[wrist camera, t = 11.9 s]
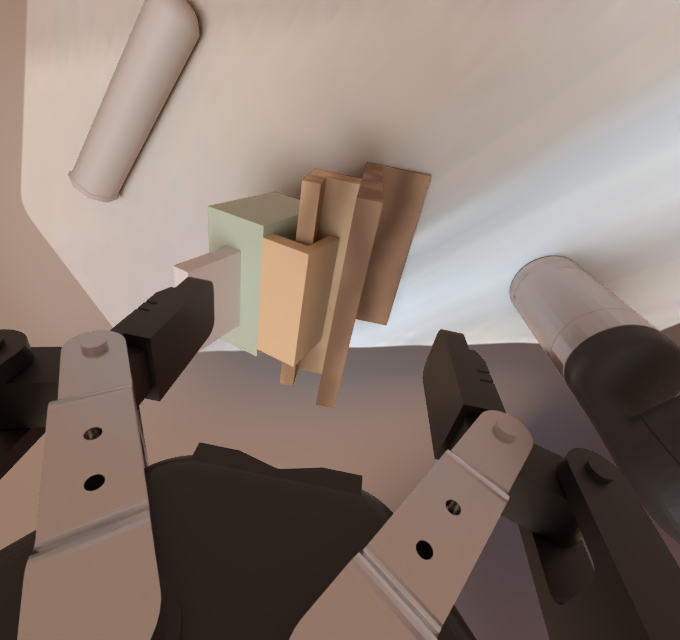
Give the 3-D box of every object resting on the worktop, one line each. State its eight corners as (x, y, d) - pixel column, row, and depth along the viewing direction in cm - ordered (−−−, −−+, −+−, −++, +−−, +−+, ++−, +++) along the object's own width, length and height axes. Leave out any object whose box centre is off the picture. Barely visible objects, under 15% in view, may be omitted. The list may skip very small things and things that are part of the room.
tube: (143, -41, 32) (58, 170, 43) (181, 3, 32) (87, 202, 43) (185, -8, 36) (99, 174, 47) (218, 30, 37) (125, 203, 47)
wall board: (430, 175, 42) (462, 219, 25) (386, 321, 54) (388, 419, 37) (331, 154, 42) (296, 184, 25) (308, 305, 54) (275, 396, 37)
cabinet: (360, 219, 35) (263, 265, 22) (337, 330, 42) (254, 412, 30) (275, 191, 38) (146, 218, 25) (267, 300, 45) (165, 362, 33)
